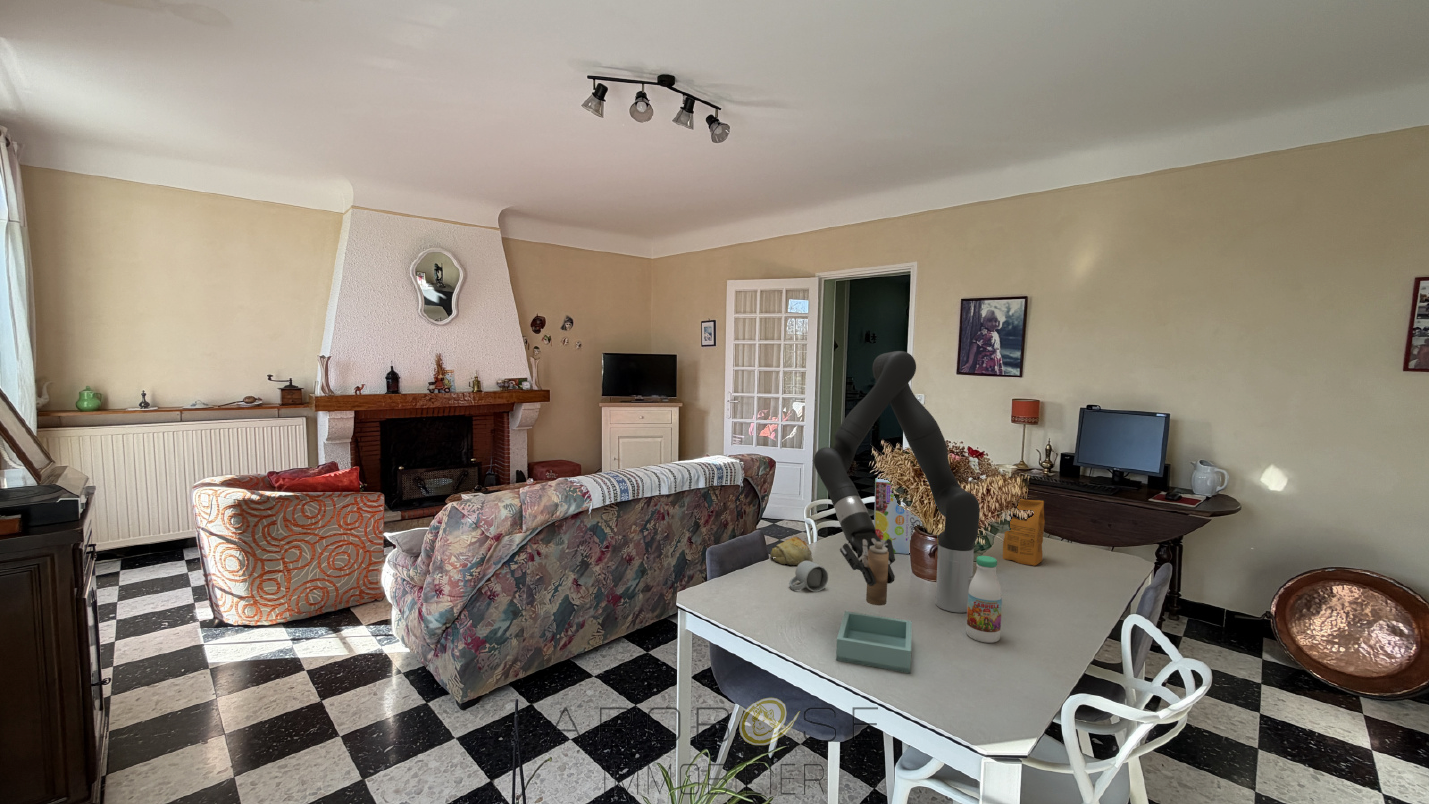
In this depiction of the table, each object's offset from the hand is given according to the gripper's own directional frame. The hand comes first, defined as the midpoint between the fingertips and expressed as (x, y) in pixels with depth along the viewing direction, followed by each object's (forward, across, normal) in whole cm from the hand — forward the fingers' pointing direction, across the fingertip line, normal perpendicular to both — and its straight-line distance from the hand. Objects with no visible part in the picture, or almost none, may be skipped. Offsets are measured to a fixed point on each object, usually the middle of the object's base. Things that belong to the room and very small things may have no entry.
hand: (882, 583), depth 136 cm
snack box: (-30, +55, +54) cm, 83 cm away
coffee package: (-15, +88, +39) cm, 98 cm away
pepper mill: (+2, 0, +5) cm, 5 cm away
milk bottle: (+13, +30, +11) cm, 35 cm away
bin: (+11, 0, +13) cm, 17 cm away
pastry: (-33, +12, +57) cm, 67 cm away
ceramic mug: (-17, +4, +41) cm, 45 cm away
